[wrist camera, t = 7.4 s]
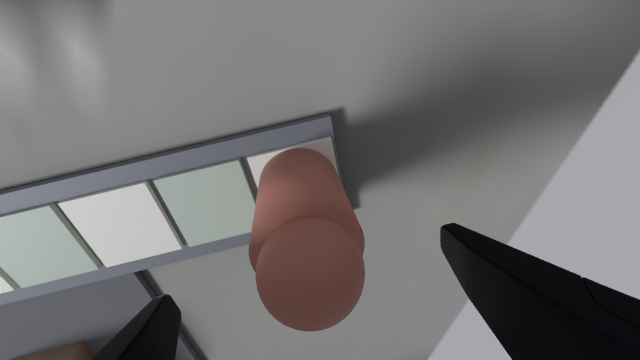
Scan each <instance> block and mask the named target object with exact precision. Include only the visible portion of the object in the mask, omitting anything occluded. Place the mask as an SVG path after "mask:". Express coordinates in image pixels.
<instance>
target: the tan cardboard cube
mask: <svg viewBox="0 0 640 360" xmlns="http://www.w3.org/2000/svg"><path fill="white" fill-rule="evenodd" d="M94 355H95V353H94V352H93V351H92V350H91V349H90V348H89V347H88V346H87V345H86V344H85V343H84V342H83V341H80V342H76V343H72V344H68V345H64V346H61V347H57V348H53V349H49V350H45V351H41V352H37V353H33V354H29V355H26V356H22V357H18V358H14V359H10V360H90V359H91V358H92V357H93V356H94Z"/></svg>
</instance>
